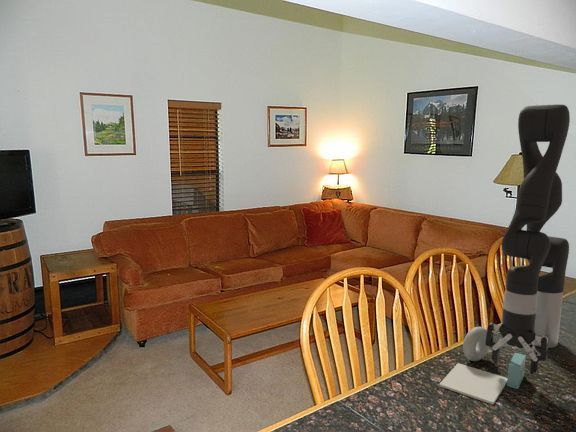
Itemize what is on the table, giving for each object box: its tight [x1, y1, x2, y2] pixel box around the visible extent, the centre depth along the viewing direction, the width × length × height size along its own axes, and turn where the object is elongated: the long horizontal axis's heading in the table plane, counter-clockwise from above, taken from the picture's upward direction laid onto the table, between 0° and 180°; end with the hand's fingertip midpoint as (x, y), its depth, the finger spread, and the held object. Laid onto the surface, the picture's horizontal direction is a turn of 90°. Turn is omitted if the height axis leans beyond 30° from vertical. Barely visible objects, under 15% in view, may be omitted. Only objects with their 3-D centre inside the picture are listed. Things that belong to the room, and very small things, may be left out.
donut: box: [462, 326, 490, 362], centre depth 128 cm, size 10×4×10 cm, turn 122°
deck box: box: [506, 352, 527, 390], centre depth 117 cm, size 8×3×6 cm, turn 143°
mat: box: [438, 362, 508, 405], centre depth 116 cm, size 14×13×1 cm
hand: (513, 367), depth 117 cm, fingers open, 8 cm apart
